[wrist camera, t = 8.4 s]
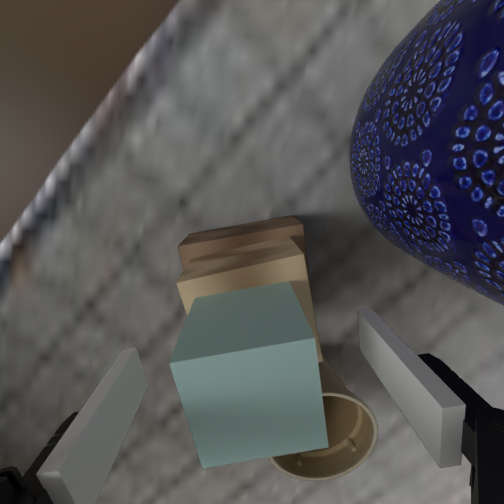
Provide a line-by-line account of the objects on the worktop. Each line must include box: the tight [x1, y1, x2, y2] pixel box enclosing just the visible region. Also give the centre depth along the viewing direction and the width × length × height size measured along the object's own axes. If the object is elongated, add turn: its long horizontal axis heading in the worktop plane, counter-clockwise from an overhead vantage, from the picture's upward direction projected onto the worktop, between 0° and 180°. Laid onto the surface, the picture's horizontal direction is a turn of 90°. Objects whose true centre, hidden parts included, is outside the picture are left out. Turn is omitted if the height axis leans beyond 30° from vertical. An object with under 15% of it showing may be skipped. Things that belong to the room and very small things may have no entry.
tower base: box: [178, 216, 312, 298], centre depth 24 cm, size 10×10×5 cm
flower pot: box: [269, 354, 378, 481], centre depth 26 cm, size 9×9×9 cm
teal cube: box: [169, 281, 329, 469], centre depth 14 cm, size 6×6×6 cm
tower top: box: [176, 236, 323, 363], centre depth 19 cm, size 8×8×5 cm
